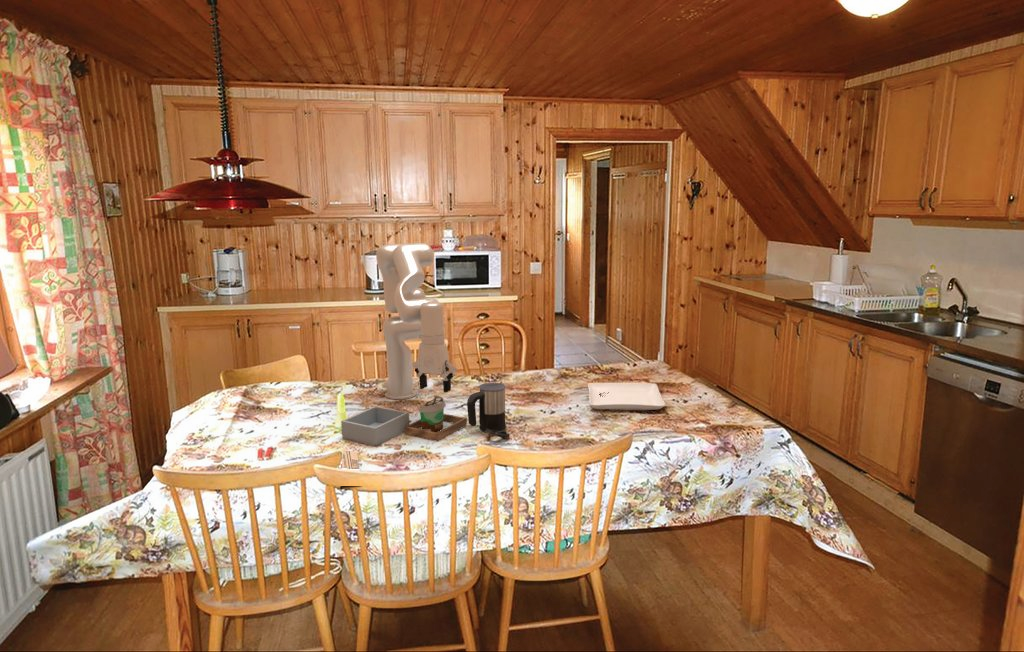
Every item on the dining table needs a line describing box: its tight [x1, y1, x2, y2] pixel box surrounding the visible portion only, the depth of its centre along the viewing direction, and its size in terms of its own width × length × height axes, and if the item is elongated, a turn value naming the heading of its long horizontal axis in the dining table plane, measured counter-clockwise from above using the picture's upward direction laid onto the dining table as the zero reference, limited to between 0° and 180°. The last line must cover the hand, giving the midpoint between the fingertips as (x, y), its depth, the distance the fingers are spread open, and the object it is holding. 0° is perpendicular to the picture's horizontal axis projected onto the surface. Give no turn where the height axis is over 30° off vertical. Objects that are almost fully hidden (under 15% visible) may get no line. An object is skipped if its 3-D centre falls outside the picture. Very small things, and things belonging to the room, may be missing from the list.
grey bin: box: [340, 405, 410, 447], centre depth 209 cm, size 15×17×6 cm
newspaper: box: [341, 450, 361, 470], centre depth 182 cm, size 24×7×2 cm, turn 18°
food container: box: [418, 394, 447, 433], centre depth 211 cm, size 12×6×10 cm, turn 161°
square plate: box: [587, 382, 666, 411], centre depth 238 cm, size 27×27×4 cm
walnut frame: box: [404, 413, 468, 442], centre depth 212 cm, size 14×17×2 cm
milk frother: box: [466, 382, 511, 440], centre depth 208 cm, size 14×16×15 cm
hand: (435, 389), depth 209 cm, fingers open, 9 cm apart
